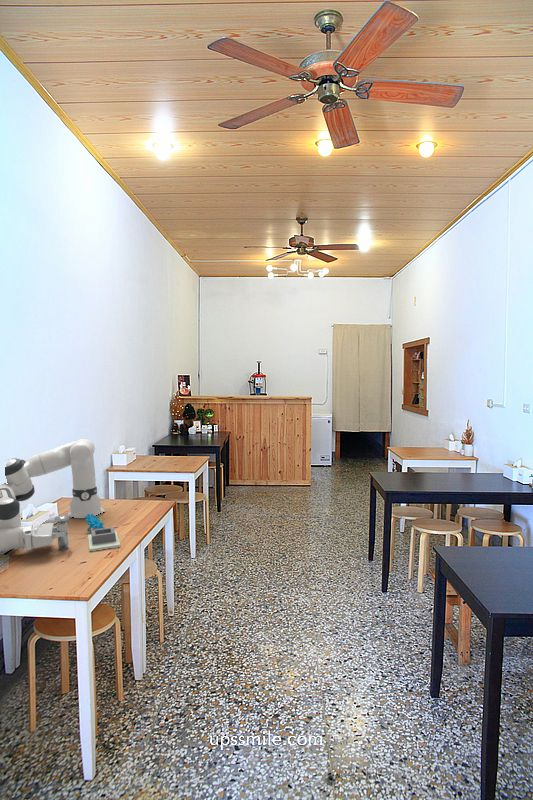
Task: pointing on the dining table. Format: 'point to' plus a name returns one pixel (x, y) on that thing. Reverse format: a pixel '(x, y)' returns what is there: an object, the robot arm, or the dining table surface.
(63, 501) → the dining table surface
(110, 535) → the socket board
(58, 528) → the pin
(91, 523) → the gear
